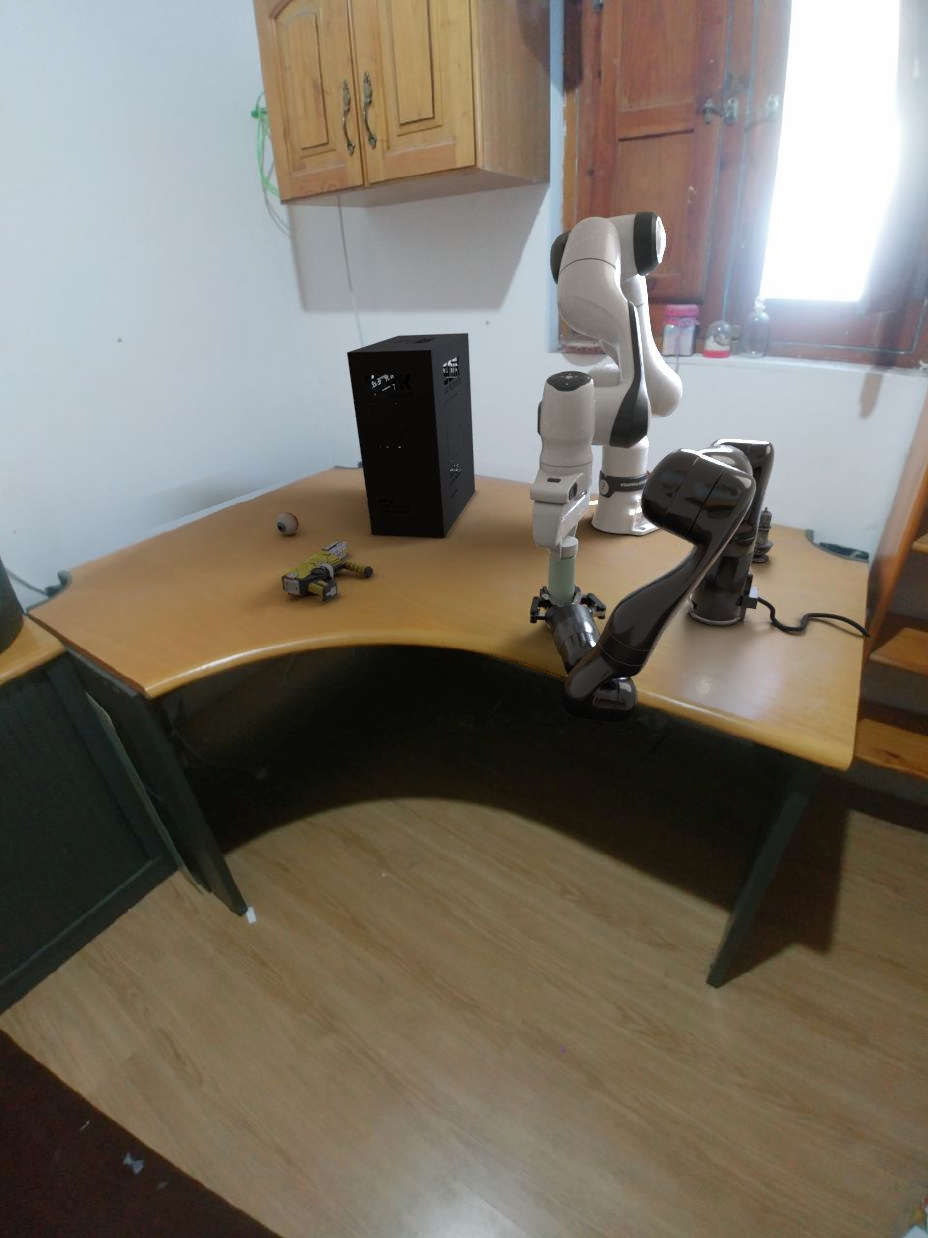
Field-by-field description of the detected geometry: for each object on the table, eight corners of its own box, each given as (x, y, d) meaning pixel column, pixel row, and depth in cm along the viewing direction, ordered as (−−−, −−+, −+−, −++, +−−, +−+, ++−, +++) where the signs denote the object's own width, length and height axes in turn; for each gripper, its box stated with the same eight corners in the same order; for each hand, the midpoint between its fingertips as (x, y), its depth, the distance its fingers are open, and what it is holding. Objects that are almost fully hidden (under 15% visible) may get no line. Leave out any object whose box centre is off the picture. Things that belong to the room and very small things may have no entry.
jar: (554, 633, 114) (557, 552, 105) (542, 622, 118) (544, 542, 109) (577, 628, 115) (581, 547, 107) (564, 616, 119) (567, 537, 111)
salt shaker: (772, 562, 134) (784, 511, 128) (744, 561, 136) (754, 511, 130) (766, 552, 139) (777, 502, 133) (739, 551, 140) (749, 501, 134)
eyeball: (273, 537, 164) (268, 516, 161) (287, 528, 169) (282, 508, 166) (291, 539, 161) (286, 518, 158) (305, 530, 166) (301, 510, 163)
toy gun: (389, 548, 145) (334, 537, 149) (339, 588, 125) (277, 575, 129) (389, 566, 147) (335, 555, 151) (340, 608, 127) (279, 595, 131)
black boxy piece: (444, 537, 157) (431, 349, 135) (371, 534, 162) (346, 352, 139) (475, 491, 189) (468, 332, 166) (413, 489, 193) (398, 335, 171)
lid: (555, 543, 112) (555, 533, 111) (582, 548, 109) (582, 538, 108) (542, 553, 108) (542, 543, 107) (570, 559, 105) (570, 549, 104)
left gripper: (567, 458, 111) (564, 529, 118) (525, 493, 95) (525, 572, 102) (601, 461, 108) (596, 533, 115) (563, 497, 93) (561, 578, 100)
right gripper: (620, 613, 99) (596, 569, 114) (533, 619, 99) (521, 573, 113) (617, 651, 103) (594, 604, 117) (533, 657, 102) (520, 608, 117)
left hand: (562, 552), depth 109 cm, fingers closed on lid, 5 cm apart
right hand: (558, 589), depth 115 cm, fingers closed on jar, 5 cm apart
